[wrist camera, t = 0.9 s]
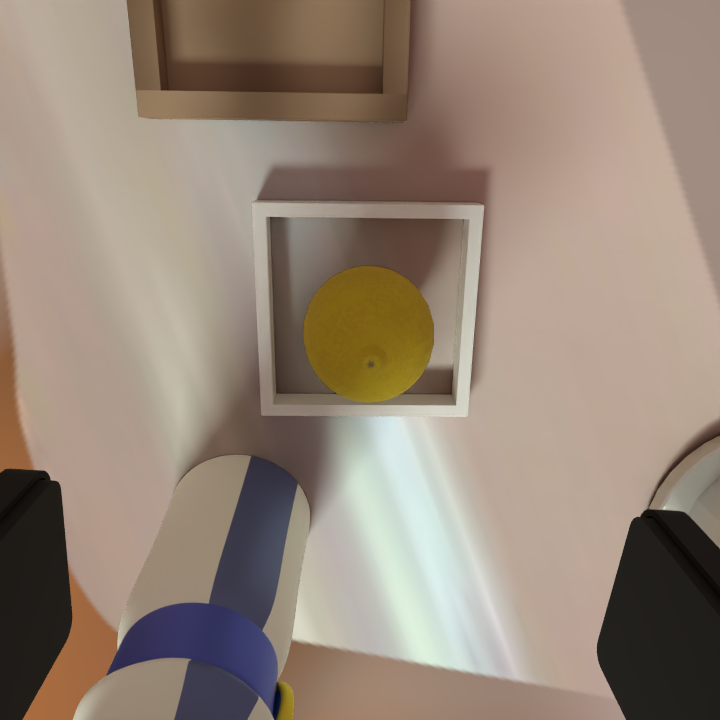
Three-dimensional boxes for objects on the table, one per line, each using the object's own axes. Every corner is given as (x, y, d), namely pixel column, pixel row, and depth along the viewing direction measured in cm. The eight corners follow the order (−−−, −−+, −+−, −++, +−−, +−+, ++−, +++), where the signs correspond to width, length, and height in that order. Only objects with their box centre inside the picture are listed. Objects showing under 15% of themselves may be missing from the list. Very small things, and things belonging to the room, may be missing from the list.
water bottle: (350, 495, 33) (357, 1369, 9) (267, 601, 35) (105, 1519, 12) (219, 418, 31) (-174, 1247, 8) (141, 534, 34) (-348, 1449, 10)
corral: (477, 202, 28) (484, 205, 27) (462, 405, 31) (467, 416, 30) (256, 200, 28) (251, 202, 26) (264, 404, 31) (261, 415, 30)
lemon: (343, 230, 28) (341, 261, 21) (443, 287, 29) (476, 336, 22) (289, 330, 30) (269, 392, 22) (386, 380, 31) (398, 456, 23)
